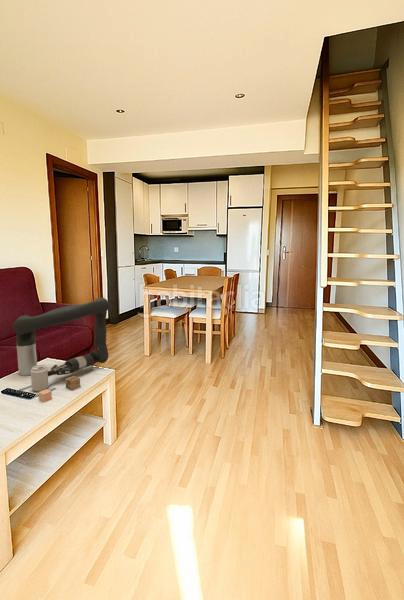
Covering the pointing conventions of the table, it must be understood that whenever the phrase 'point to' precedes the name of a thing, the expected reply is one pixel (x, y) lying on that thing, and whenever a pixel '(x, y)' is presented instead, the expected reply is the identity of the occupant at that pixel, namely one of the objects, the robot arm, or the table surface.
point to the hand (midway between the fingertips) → (46, 374)
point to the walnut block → (72, 382)
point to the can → (39, 378)
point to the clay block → (45, 395)
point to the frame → (31, 386)
